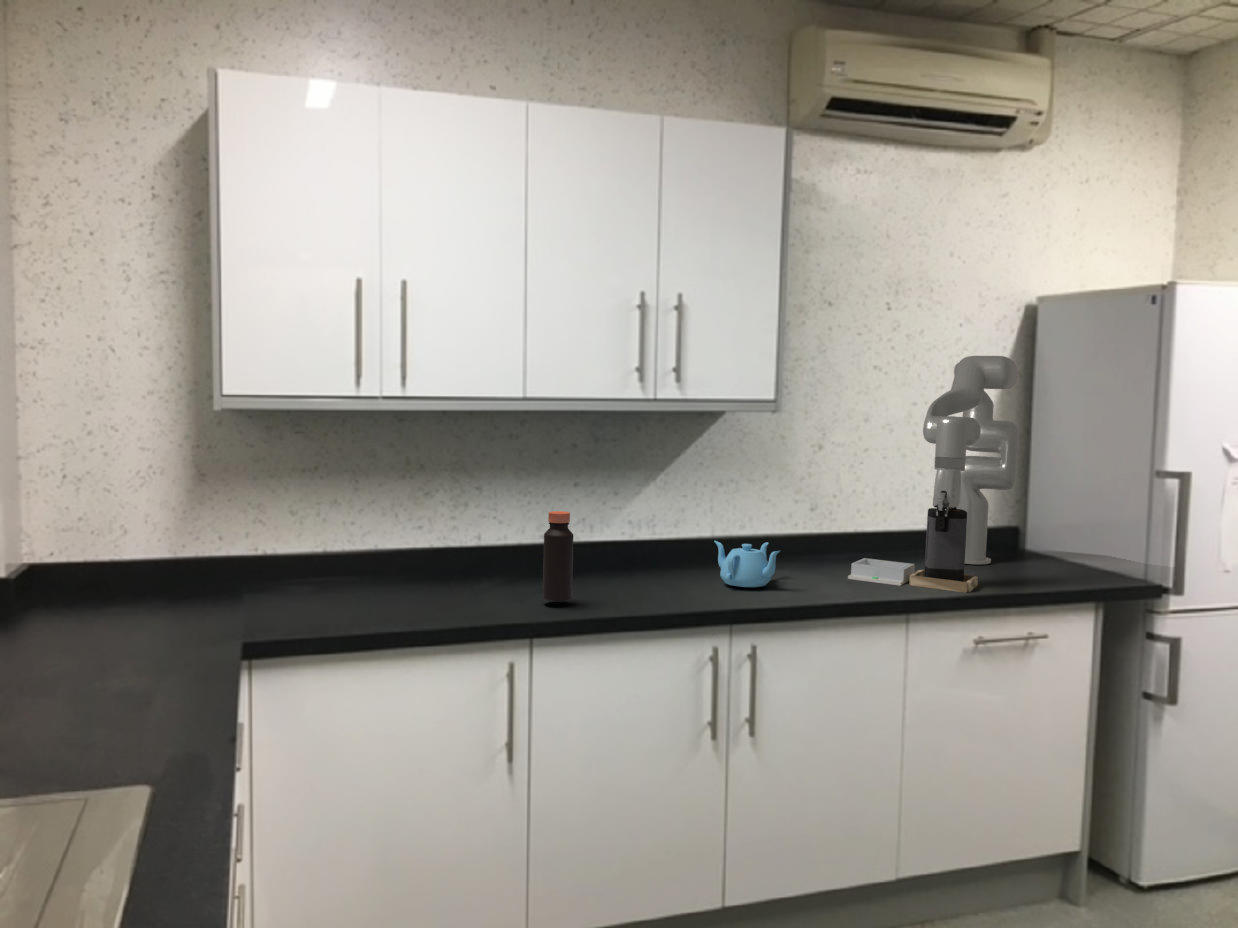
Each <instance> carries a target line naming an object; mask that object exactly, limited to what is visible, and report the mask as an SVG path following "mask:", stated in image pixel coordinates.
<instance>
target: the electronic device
mask: <svg viewBox="0 0 1238 928" xmlns="http://www.w3.org/2000/svg"><path fill="white" fill-rule="evenodd" d="M936 511H937V508H935V507H930V508H927V517H926V518H927V521H926V532H925V533H926V535H925V537H926V538H925V554H924V557H925V559H924V570H925V574H924V577H929V578H937V579H945V580H953V581H961V582H964V574H965V565H966V564H965V549H966V529H967V512H966V511H965V510H962V509H954V510H949V513H948V517H949V529H948V532H938V531H935V522H936ZM945 511H946V509H945Z"/></svg>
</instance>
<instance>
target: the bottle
mask: <svg viewBox="0 0 1238 928" xmlns="http://www.w3.org/2000/svg"><path fill="white" fill-rule="evenodd" d="M570 520H571V513H570V512H569V511H559V510H558V511H557V510H555V511H548V524H549V528H548V529H547V530H546V531H545V532H544V534H543V557H542V558H543V559H542V560H543V561H542V564H543V565H542V567H543V569H542V572H543V573H542V598H543V599H544V600H547V601H550V602H551V601H552V602H565V601H568V600H571V599H573V598H572V597H573V574H574V573H573V569H574V533H573V532H572V531H571V530H570V529H569V525H570Z"/></svg>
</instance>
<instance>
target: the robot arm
mask: <svg viewBox="0 0 1238 928" xmlns="http://www.w3.org/2000/svg"><path fill="white" fill-rule="evenodd" d="M1018 371H1019V370H1018V367H1017V364H1016V362H1015V361H1014V360H1013V359H1011V358H1010V357H1007V356H1004V355H968V356H964V357H963V358H961V359H960V360H959V362H957V363H956V364H955V366H954V369H953V374H954V375H953V376H954V377H953V381H952V384H951V387H950V390H948V391H946V392H945V393H943V394H941V395H940V396H939V397H938V398H936V399H935V400H933V401H932V402H931V404H930V405H929V407H928V408H927V411H926V415H925V419H924V423H923V426H922V435H923V438H924V440H925V441H926V442H927V443H929V444H934V445H935V453H934V467H933V468H934V470H936V473H935V479H934V480H935V481H934V487H933V488H934V489H933V498H932V506H933V508H937V511H936V522H935V531H938V532H948V529H949V517H948V513H949V510H954V509H962V510H965V511H966V512H967V529H966V549H965V565H989V564H991V563H992V559H991V558H990V557H987V543H988V541H987V539H988V521H989V520H988V518H989V502H988V499H987V498H986V496H985V495H984V494H983V493H982V491H981V490H996V491H997V490H998V491H999V490H1000V491H1009V490H1011V489H1013V488H1014V487H1015V485H1016V481H1017V473H1018V472H1017V471H1018V458H1019V443H1020V440H1019V439H1020V432H1019V429H1018V426H1017V424H1016V423H1014V422H1013V421H1009V420H995V419H994V407H995V405H994V402H993V400H992V399H991V397H990V395H989V394H988V393H987V392H986V391H985V390H1011V389H1012V388H1014V387H1015V385H1016V383H1017V381H1018V374H1019V373H1018ZM959 413H962V416H952V415H955V414H959ZM967 451H969V452H976V453H977V452H980V453H996V454H1000V457H997V456H995V457H994V456H984V455H983V456H981V455H967ZM945 510H946V511H945Z"/></svg>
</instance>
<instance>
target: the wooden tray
mask: <svg viewBox="0 0 1238 928" xmlns="http://www.w3.org/2000/svg"><path fill="white" fill-rule="evenodd" d="M924 574H925V569H919V570H917V571H914V573H913V574H911V575H910V581H909V582H908V583H909V586H912V587H920V588H929V589H934V590H936V589H937V590H943V591H949V592H950V591H951V592H958V593H970V592H972V591H973V590H974V589H975V588H976V587H978V584H979V583H978V582H979V581H978V580H979V576H977V575H972V574H965V573H964V582H961V581H953V580H945V579H937V578H929V577H924Z"/></svg>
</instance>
